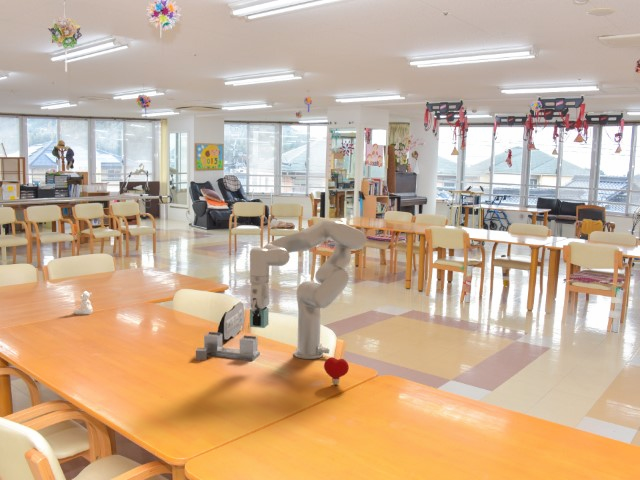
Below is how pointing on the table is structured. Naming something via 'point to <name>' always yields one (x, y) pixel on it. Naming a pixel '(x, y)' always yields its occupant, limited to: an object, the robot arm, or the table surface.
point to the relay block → (201, 354)
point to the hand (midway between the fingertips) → (259, 323)
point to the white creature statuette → (84, 304)
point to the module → (263, 318)
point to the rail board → (245, 353)
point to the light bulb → (336, 369)
